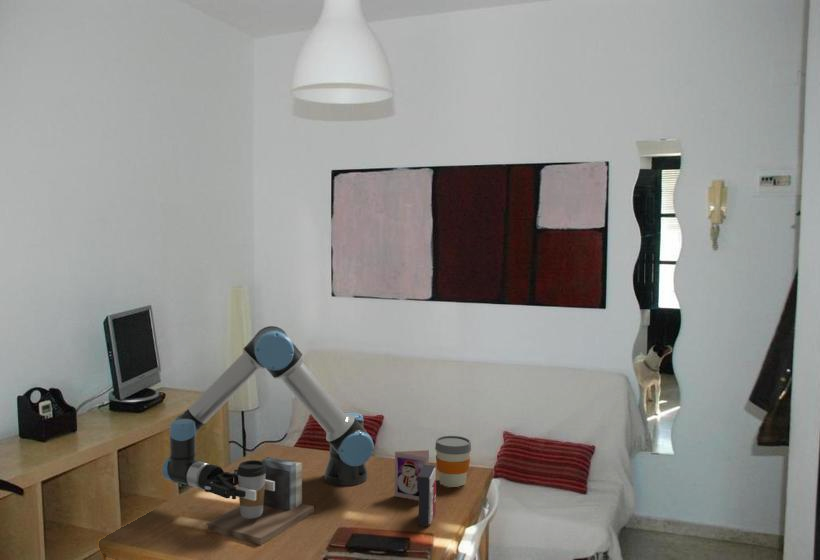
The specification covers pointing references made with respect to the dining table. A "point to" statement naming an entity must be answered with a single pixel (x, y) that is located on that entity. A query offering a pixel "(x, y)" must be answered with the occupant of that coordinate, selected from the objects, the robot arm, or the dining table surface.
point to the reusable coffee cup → (452, 460)
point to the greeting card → (409, 472)
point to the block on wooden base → (269, 506)
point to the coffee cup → (252, 487)
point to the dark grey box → (426, 494)
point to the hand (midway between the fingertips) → (264, 491)
